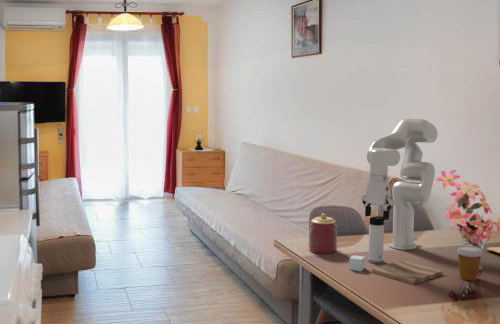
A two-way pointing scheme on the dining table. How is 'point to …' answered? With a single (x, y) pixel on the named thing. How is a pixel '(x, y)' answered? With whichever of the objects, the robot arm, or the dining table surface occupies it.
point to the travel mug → (376, 239)
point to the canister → (323, 235)
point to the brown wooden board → (407, 272)
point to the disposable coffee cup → (469, 262)
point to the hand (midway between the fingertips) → (376, 217)
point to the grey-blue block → (356, 263)
